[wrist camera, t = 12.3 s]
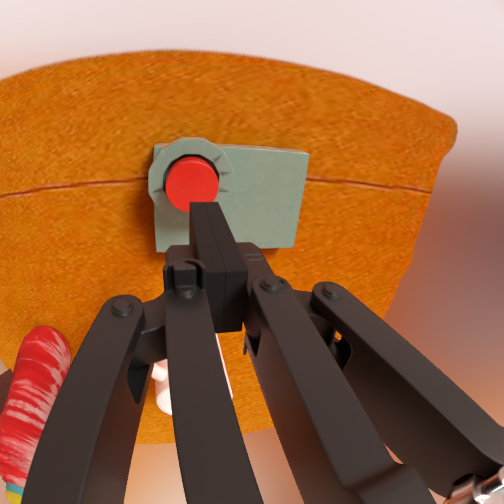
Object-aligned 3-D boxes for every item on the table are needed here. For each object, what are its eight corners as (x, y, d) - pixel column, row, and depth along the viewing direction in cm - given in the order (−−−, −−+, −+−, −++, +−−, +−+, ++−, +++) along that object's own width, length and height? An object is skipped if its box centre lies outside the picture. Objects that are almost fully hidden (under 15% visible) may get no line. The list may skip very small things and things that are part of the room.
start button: (166, 204, 22) (165, 213, 21) (166, 156, 20) (165, 161, 19) (213, 203, 23) (217, 212, 22) (216, 157, 21) (220, 162, 20)
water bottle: (16, 348, 29) (-13, 494, 8) (2, 309, 25) (-48, 473, 4) (82, 362, 33) (76, 525, 12) (75, 324, 30) (53, 518, 9)
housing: (154, 242, 27) (152, 262, 24) (152, 134, 22) (148, 139, 19) (285, 238, 31) (299, 256, 28) (301, 142, 26) (320, 149, 23)
